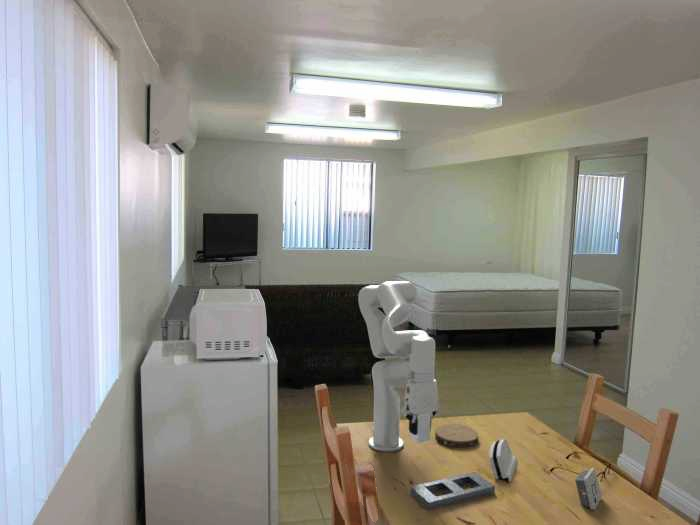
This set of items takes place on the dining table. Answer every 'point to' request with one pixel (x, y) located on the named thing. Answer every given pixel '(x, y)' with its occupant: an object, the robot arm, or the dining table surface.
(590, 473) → the electrical switch
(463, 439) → the wood slice
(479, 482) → the grey tray with holes
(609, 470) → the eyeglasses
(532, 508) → the dining table surface
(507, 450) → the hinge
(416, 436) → the steel block
